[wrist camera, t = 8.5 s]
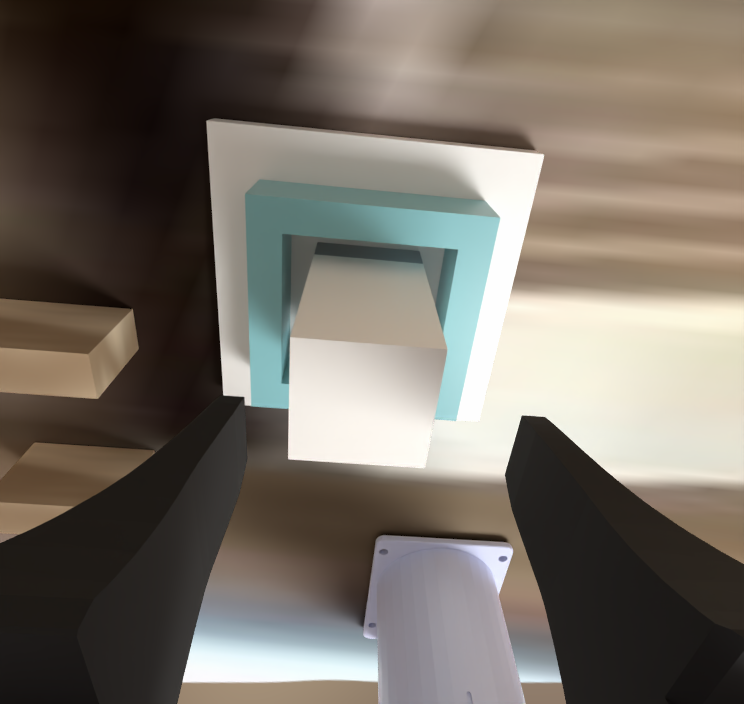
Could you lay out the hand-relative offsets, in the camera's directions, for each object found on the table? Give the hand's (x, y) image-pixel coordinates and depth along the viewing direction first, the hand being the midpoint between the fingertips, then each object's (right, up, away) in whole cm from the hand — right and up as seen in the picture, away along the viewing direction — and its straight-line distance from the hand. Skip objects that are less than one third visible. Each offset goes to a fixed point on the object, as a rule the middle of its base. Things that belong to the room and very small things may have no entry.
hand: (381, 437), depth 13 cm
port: (-1, +5, +8) cm, 10 cm away
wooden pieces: (-14, 0, +11) cm, 18 cm away
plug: (-1, +5, +8) cm, 9 cm away
